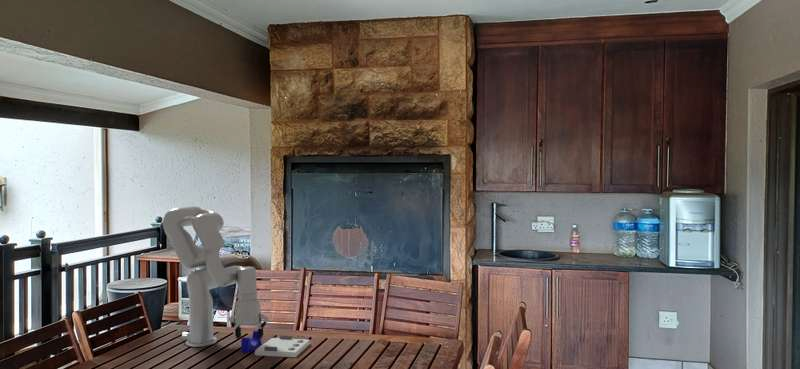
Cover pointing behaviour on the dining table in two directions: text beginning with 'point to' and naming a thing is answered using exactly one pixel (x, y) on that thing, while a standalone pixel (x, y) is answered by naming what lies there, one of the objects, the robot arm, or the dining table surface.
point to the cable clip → (250, 342)
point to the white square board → (282, 347)
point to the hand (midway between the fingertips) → (249, 337)
